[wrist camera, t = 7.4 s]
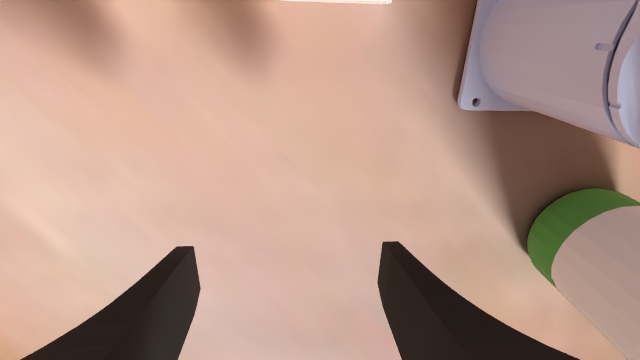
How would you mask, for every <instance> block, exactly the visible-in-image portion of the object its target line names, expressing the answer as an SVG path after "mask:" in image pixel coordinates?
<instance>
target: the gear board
mask: <svg viewBox="0 0 640 360" xmlns="http://www.w3.org/2000/svg"><path fill="white" fill-rule="evenodd" d="M281 1H309V2H336V3H364V4H387V3H392V0H281Z"/></svg>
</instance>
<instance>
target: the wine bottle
mask: <svg viewBox="0 0 640 360" xmlns="http://www.w3.org/2000/svg"><path fill="white" fill-rule="evenodd" d="M527 247H528V254H529V256H530V258H531V261H532V263H533V264H534V266H535V267H536V268H537V270H538V271H539V272H540V273H541V274H542V275H543V276H544V277H545V278H546V279H547V280H549V281H550V282H551V283H552V284H553V285H554V286H555V287H556V288H557V290H558V291H559V292H560V293H561V294H562V295H563V296H564V297H565V298H566V299H567V300H568V301H569V302H570V303H571V304H572V305H573V306H574V307H575V308H576V309H577V310H578V311H579V312H580V313H581V314H582V315H583V316H584V317H585V318H586V319H587V320H588V321H589V322H590V323H591V324H592V325H593V326H594V327H595V328H596V329H597V330H598V331H599V332H600V333H601V334H602V335H603V336H604V337H605V338H606V339H607V340H608V341H609V342H610V343H611V344H612V345H613V346H614V347H615V348H616V349H617V350H618V351H619V352H620V353H621V354H622V355H623V356H624V357H625V358H626V359H627V360H640V203H639V202H637V201H635V200H633V199H632V198H630V197H628V196H626V195H624V194H621V193H619V192H616V191H611V190H606V189H601V188H594V189H582V190H579V191H575V192H572V193H569V194H567V195H565V196H563V197H561V198H559V199H557V200H555V201H554V202H553V203H551V204H550V205H549V206H548V207H546V208H545V209H544V210H543V211H542V212H541V214H540V215H539V216H538V217H537V218H536V220H535V221H534V223H533V225H532V227H531V228H530V232H529V235H528V239H527Z"/></svg>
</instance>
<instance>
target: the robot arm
mask: <svg viewBox="0 0 640 360" xmlns="http://www.w3.org/2000/svg"><path fill="white" fill-rule="evenodd" d="M475 98H477V103H476V104H475V105H472V101H473V100H474V99H475ZM457 104H458V107H459V108H461V109H463V110H476V111H536V112H538V113H541V114H544V115H547V116H550V117H552V118H555V119H558V120H561V121H564V122H566V123H569V124H572V125H575V126H577V127H580V128H583V129H586V130H589V131H591V132H594V133H597V134H600V135H603V136H605V137H608V138H611V139H614V140H617V141H619V142H622V143H625V144H628V145H631V146H633V147H636V148H639V149H640V0H478V2H477V7H476V11H475V16H474V21H473V26H472V31H471V36H470V41H469V46H468V51H467V56H466V61H465V66H464V71H463V76H462V81H461V86H460V91H459V96H458V101H457ZM377 283H378V287H379V292H380V297H381V301H382V305H383V308H384V311H385V314H386V317H387V320H388V323H389V325H390V328H391V331H392V334H393V336H394V339H395V342H396V344H397V347H398V350H399V353H400V355H401V358H402V360H580V359H577V358H575V357H573V356H570V355H568V354H566V353H563V352H561V351H559V350H556V349H554V348H552V347H549V346H547V345H545V344H543V343H541V342H539V341H537V340H535V339H533V338H531V337H529V336H527V335H525V334H523V333H521V332H519V331H517V330H515V329H513V328H511V327H510V326H508V325H506V324H504V323H503V322H501V321H499V320H497V319H496V318H494V317H492V316H491V315H489V314H487V313H486V312H484V311H483V310H481V309H479V308H478V307H477V306H475V305H474V304H472V303H471V302H469V301H468V300H466V299H465V298H463V297H462V296H461V295H459V294H458V293H457V292H455V291H454V290H453V289H451V288H450V287H449V286H448V285H446V284H445V283H444V282H443V281H441V280H440V279H439V278H438V277H437V276H435V275H434V274H433V273H432V272H431V271H430V270H428V269H427V268H426V267H425V266H424V265H423V264H422V263H421V262H420V261H419V260H417V259H416V258H415V257H414V256H413V255H412V254H411V253H410V252H409V251H408V250H407V249H406V248H405V247H404V246H403V245H401V244H400V243H399V242H398V241H397V242H383V244H382V252H381V259H380V267H379V275H378V282H377ZM200 289H201V288H200V282H199V276H198V270H197V264H196V258H195V252H194V246H181V247H176V248H175V249H173V250H172V251H171V252H170V253H169V254H168V255H167V256H166V257H165V258H163V259H162V260H161V261H160V262H159V263H158V264H157V265H156V266H155V267H154V268H152V269H151V270H150V271H149V272H148V273H147V274H146V275H144V276H143V277H142V278H141V279H140V280H139V281H138V282H136V283H135V284H134V285H133V286H132V287H130V288H129V289H128V290H127V291H125V292H124V293H123V294H122V295H120V296H119V297H118V298H117V299H115V300H114V301H113V302H112V303H110V304H109V305H108V306H106V307H105V308H103V309H102V310H101V311H99V312H98V313H96V314H95V315H94V316H92V317H91V318H89V319H88V320H86V321H85V322H83V323H82V324H80V325H79V326H77V327H76V328H74V329H72V330H71V331H69V332H67V333H66V334H64V335H62V336H61V337H59V338H58V339H56V340H54V341H53V342H51V343H49V344H48V345H46V346H44V347H43V348H41V349H39V350H37V351H35V352H33V353H32V354H30V355H28V356H26V357H24V358H23V359H21V360H178V357H179V355H180V352H181V349H182V347H183V344H184V341H185V339H186V336H187V333H188V331H189V328H190V325H191V323H192V320H193V317H194V314H195V310H196V306H197V302H198V298H199V293H200Z"/></svg>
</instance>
